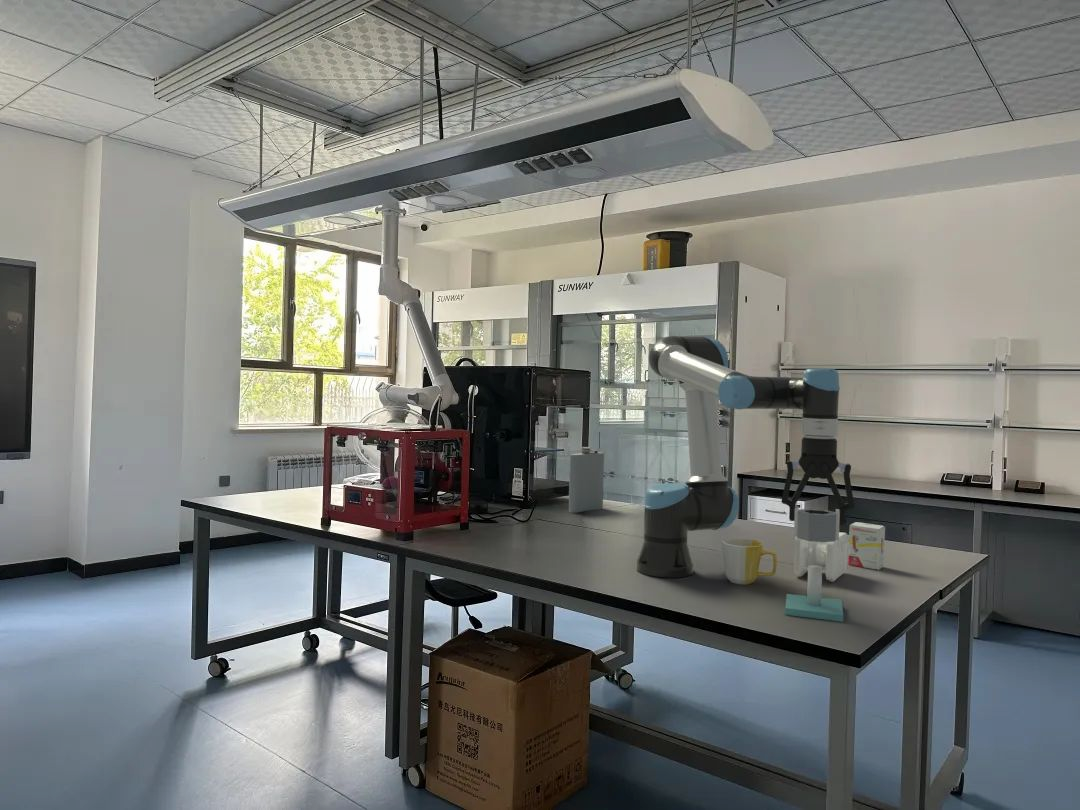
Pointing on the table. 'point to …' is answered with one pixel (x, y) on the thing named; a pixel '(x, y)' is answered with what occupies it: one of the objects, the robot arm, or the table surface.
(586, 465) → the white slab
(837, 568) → the cable organizer
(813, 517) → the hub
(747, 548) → the mug
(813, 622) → the table surface
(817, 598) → the shaft block
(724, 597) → the table surface
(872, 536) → the ink box
